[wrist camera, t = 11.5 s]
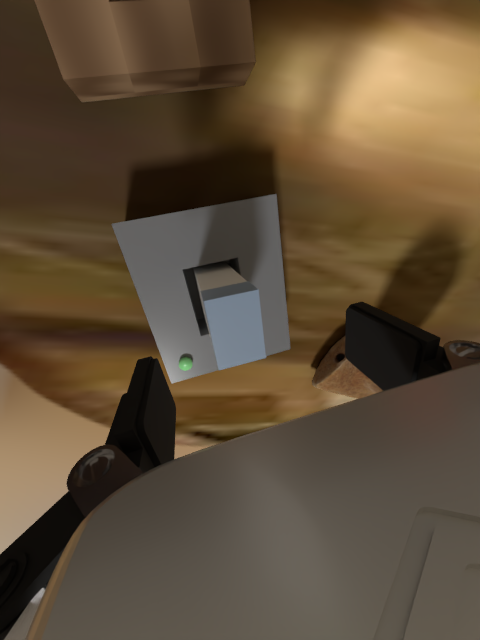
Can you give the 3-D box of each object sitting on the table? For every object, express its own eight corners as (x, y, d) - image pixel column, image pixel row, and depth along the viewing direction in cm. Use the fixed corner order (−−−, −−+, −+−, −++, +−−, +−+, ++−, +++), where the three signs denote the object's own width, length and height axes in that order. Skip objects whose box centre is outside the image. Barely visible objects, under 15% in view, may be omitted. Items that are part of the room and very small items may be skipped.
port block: (257, 198, 22) (278, 193, 17) (273, 330, 28) (292, 350, 23) (124, 223, 20) (109, 223, 15) (172, 358, 26) (171, 386, 21)
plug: (224, 260, 22) (258, 289, 13) (231, 304, 24) (266, 357, 15) (192, 266, 22) (203, 301, 13) (202, 310, 24) (218, 370, 14)
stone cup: (423, 335, 34) (580, 409, 21) (376, 398, 37) (487, 498, 24) (351, 299, 29) (503, 368, 15) (303, 377, 32) (395, 491, 18)
